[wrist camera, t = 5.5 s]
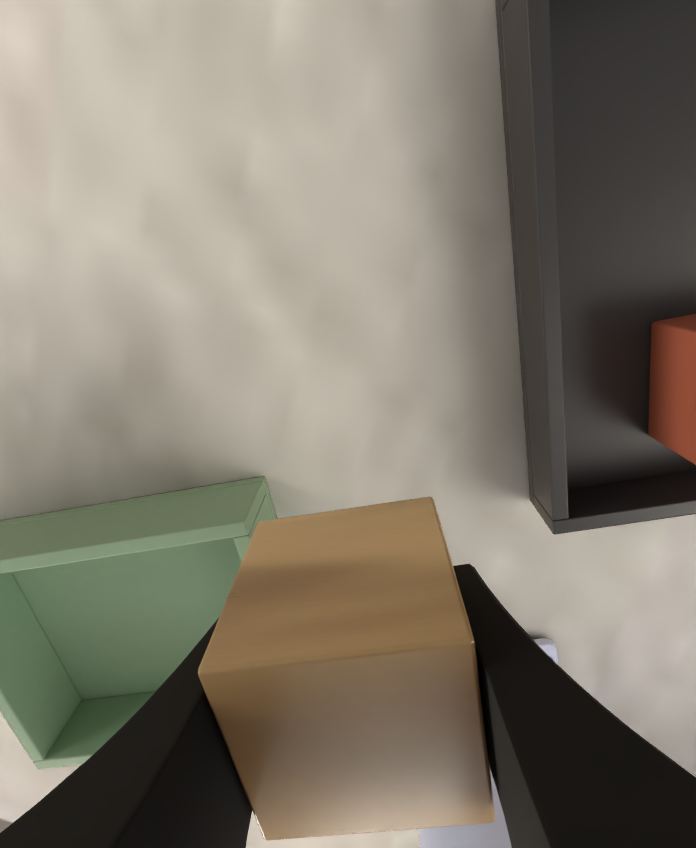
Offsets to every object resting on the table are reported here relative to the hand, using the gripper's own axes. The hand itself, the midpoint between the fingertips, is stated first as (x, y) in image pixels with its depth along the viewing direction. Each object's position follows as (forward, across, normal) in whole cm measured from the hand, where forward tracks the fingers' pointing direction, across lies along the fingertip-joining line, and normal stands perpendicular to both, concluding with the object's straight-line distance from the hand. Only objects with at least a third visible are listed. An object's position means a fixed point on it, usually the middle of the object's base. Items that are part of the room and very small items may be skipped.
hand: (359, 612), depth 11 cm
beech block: (+1, 0, 0) cm, 1 cm away
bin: (+8, +11, +6) cm, 15 cm away
